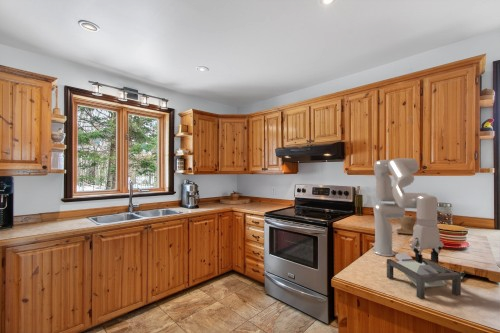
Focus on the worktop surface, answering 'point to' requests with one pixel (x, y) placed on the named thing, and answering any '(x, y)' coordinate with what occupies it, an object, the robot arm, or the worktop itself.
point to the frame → (427, 276)
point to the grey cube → (426, 270)
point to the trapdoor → (415, 269)
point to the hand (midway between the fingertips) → (426, 261)
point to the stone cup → (406, 225)
